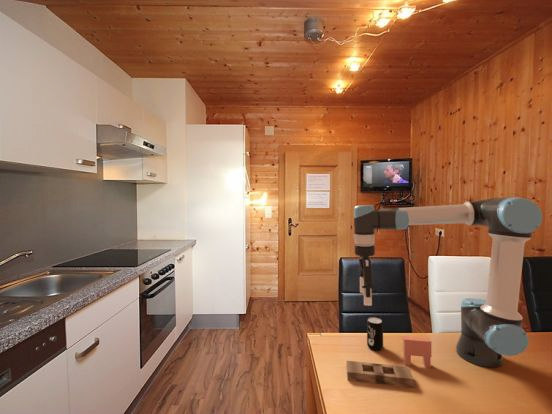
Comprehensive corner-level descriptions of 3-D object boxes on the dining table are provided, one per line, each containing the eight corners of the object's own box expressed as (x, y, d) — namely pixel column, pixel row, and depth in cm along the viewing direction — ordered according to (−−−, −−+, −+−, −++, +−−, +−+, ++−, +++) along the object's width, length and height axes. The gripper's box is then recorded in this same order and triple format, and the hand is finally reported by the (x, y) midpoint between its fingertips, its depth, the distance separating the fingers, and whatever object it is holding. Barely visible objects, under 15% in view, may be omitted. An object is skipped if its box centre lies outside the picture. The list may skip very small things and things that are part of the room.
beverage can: (384, 352, 114) (384, 324, 114) (368, 350, 116) (368, 322, 116) (381, 344, 121) (381, 317, 121) (366, 342, 122) (366, 316, 122)
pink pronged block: (429, 363, 106) (429, 338, 106) (431, 367, 103) (431, 341, 103) (402, 361, 108) (402, 336, 108) (404, 364, 105) (404, 339, 105)
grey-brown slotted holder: (408, 374, 99) (408, 366, 99) (414, 387, 93) (413, 379, 92) (346, 368, 104) (346, 360, 104) (347, 380, 97) (347, 371, 97)
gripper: (352, 240, 119) (353, 288, 119) (357, 250, 94) (358, 310, 95) (370, 240, 117) (370, 288, 118) (380, 250, 93) (381, 311, 93)
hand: (365, 298), depth 106 cm, fingers open, 13 cm apart
